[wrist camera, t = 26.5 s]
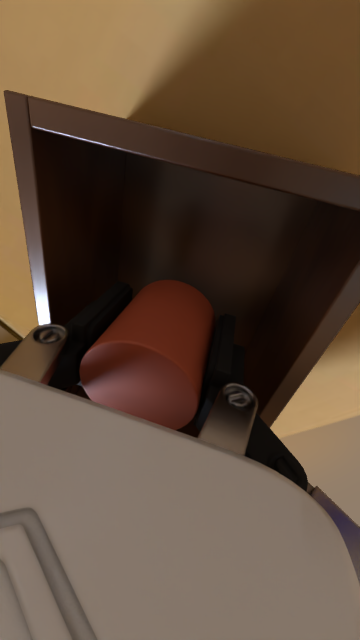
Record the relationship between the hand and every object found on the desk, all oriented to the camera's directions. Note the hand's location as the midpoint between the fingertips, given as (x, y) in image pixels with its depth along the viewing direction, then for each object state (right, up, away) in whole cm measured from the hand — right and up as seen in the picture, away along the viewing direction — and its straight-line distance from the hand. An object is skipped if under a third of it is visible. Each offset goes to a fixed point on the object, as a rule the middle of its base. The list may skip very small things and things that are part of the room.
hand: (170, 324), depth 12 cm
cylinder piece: (0, 0, +1) cm, 1 cm away
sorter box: (+1, +3, +6) cm, 7 cm away
